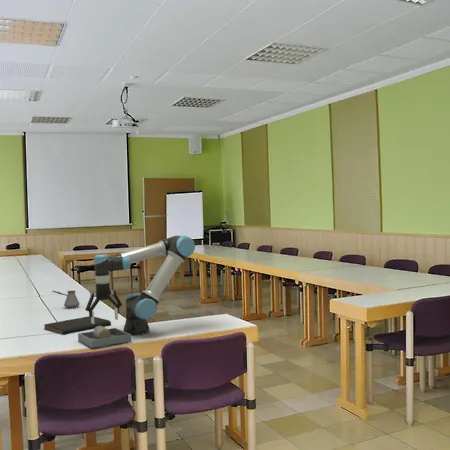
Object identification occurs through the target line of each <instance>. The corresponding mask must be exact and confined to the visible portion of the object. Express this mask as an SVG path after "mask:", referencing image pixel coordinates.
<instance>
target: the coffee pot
mask: <svg viewBox="0 0 450 450" xmlns="http://www.w3.org/2000/svg"><path fill="white" fill-rule="evenodd" d="M66 292H67V294H66V293H62V292H60V291H56V290H52V291H51V294H53V293H55V294H57V295H63V296H66V299H65V301H64V303H63V306H64V307H65V308H66V309H67V308H68V309H69V310H70V309H71V308H73V309H76V307H77V308H78V307H79V306H80V302H79V301H80V300H78V297H77V295H76V292H77V291H76V290H67V291H66Z"/></svg>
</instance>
